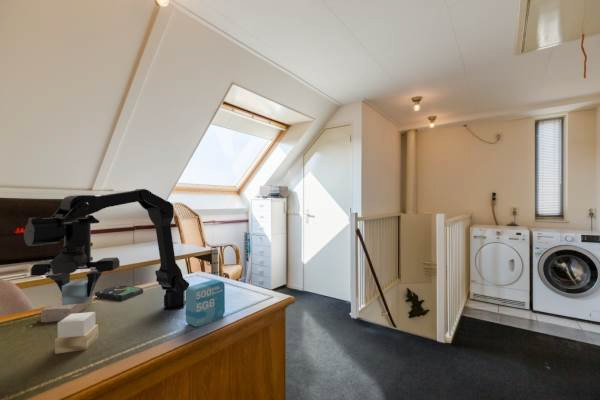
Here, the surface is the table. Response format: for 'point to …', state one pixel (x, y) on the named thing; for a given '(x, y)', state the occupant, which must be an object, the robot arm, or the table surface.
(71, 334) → the white slab
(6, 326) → the table surface
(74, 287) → the blue cube
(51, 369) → the table surface
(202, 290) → the data package
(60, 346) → the oak slab
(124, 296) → the disk drive
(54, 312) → the brick
